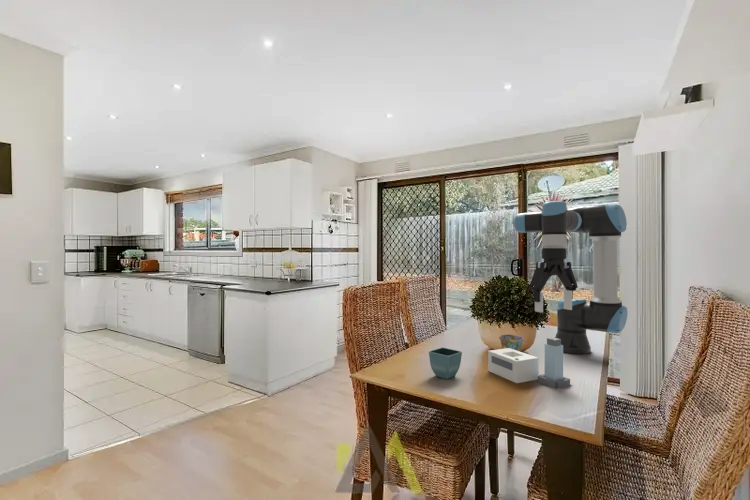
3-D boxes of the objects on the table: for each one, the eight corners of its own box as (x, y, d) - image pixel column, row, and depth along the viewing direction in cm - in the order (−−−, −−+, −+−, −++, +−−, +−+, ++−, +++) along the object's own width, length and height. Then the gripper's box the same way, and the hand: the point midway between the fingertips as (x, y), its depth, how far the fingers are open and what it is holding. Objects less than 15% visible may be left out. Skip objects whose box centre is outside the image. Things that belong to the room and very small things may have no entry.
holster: (552, 379, 129) (552, 372, 129) (572, 387, 122) (572, 379, 122) (535, 382, 126) (535, 375, 126) (555, 390, 119) (555, 383, 119)
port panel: (508, 368, 141) (508, 346, 141) (538, 380, 128) (538, 356, 128) (487, 372, 137) (487, 349, 137) (516, 385, 124) (516, 360, 124)
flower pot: (442, 370, 139) (442, 346, 139) (462, 376, 133) (462, 351, 133) (428, 376, 133) (428, 351, 133) (448, 382, 126) (448, 356, 126)
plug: (553, 380, 127) (553, 336, 127) (563, 384, 123) (563, 339, 123) (544, 382, 125) (544, 338, 125) (554, 386, 121) (554, 340, 121)
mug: (528, 366, 144) (528, 339, 144) (507, 368, 142) (507, 340, 142) (510, 357, 156) (510, 332, 156) (491, 358, 154) (491, 333, 154)
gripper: (569, 247, 132) (569, 306, 132) (517, 247, 122) (517, 311, 122) (589, 247, 126) (589, 309, 126) (535, 247, 115) (535, 314, 115)
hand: (553, 310), depth 124 cm, fingers open, 13 cm apart
